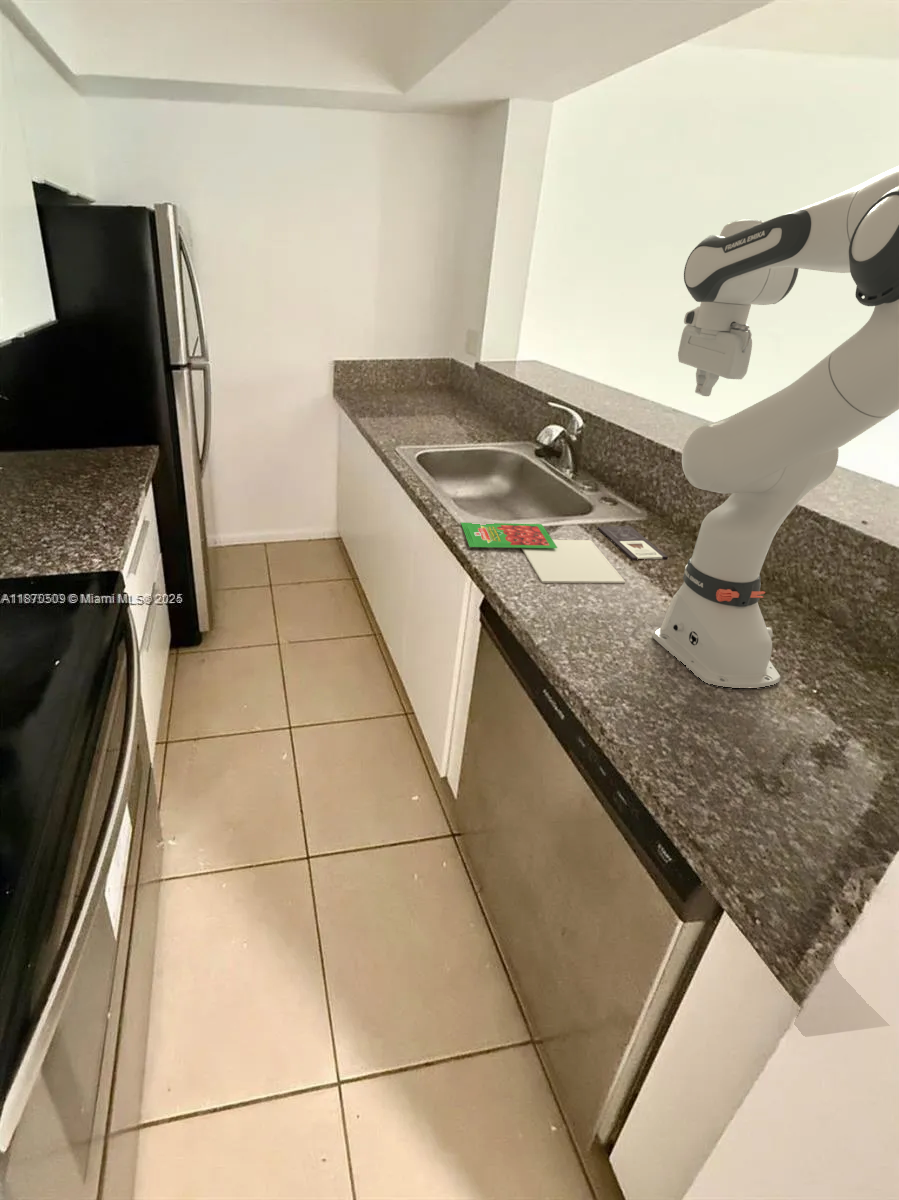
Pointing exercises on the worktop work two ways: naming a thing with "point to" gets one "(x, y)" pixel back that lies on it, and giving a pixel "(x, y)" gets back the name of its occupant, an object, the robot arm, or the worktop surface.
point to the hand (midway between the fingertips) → (702, 394)
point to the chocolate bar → (632, 543)
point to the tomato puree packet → (507, 535)
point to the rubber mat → (572, 563)
